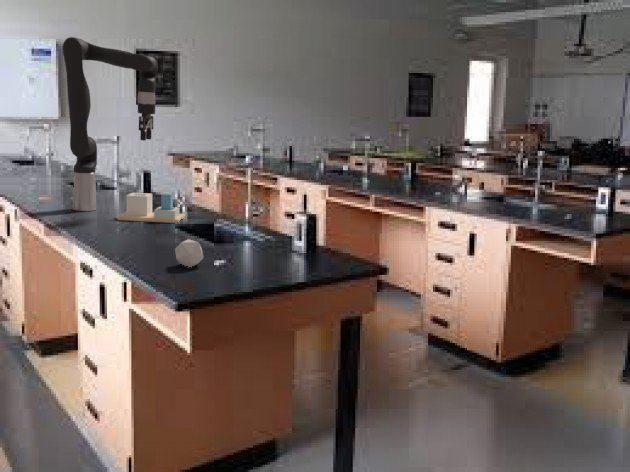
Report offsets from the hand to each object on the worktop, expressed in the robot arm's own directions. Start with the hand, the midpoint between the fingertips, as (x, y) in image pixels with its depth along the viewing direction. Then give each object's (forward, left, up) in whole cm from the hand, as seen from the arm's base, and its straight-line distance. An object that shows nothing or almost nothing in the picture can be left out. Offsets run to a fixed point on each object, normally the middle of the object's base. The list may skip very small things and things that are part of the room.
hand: (145, 139), depth 284 cm
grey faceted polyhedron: (+38, -88, -33) cm, 102 cm away
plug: (+13, -14, -32) cm, 37 cm away
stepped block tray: (+6, -12, -33) cm, 36 cm away
